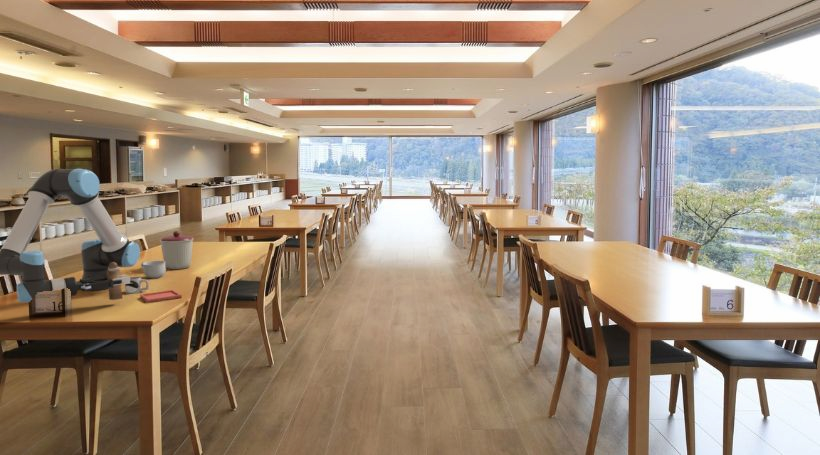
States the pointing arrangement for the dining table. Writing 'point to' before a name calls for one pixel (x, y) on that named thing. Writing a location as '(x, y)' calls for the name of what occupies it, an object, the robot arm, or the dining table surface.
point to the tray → (160, 296)
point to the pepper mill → (114, 274)
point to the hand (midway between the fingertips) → (128, 279)
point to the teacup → (154, 268)
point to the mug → (135, 285)
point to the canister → (177, 250)
